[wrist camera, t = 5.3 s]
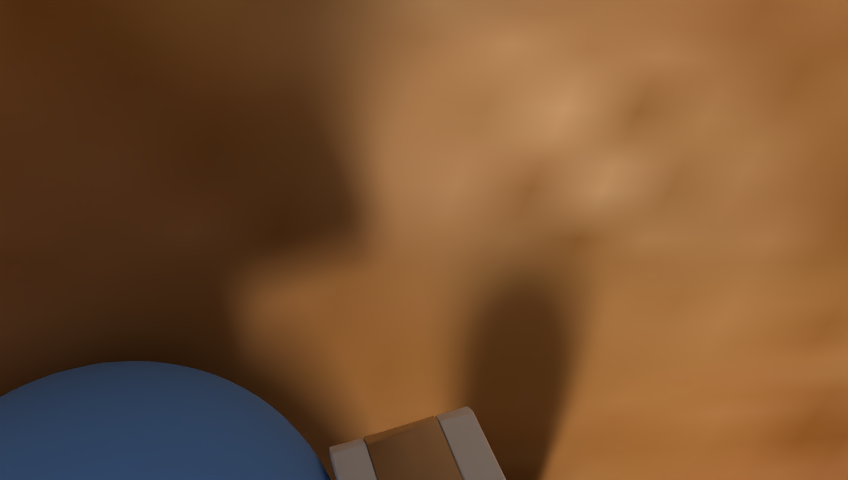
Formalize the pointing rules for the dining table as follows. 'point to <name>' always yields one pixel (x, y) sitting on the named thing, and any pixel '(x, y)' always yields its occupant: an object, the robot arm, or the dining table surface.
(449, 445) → the robot arm
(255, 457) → the ball
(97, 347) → the dining table surface
